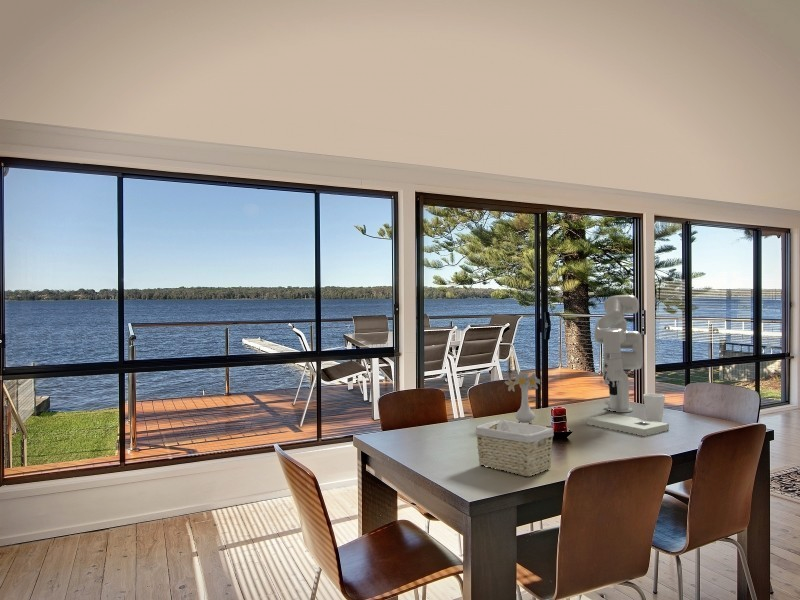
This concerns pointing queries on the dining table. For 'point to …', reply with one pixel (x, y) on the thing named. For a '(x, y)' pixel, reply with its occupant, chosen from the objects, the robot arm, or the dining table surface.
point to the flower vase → (524, 395)
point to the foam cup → (654, 406)
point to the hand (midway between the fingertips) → (613, 394)
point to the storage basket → (514, 447)
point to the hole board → (628, 424)
